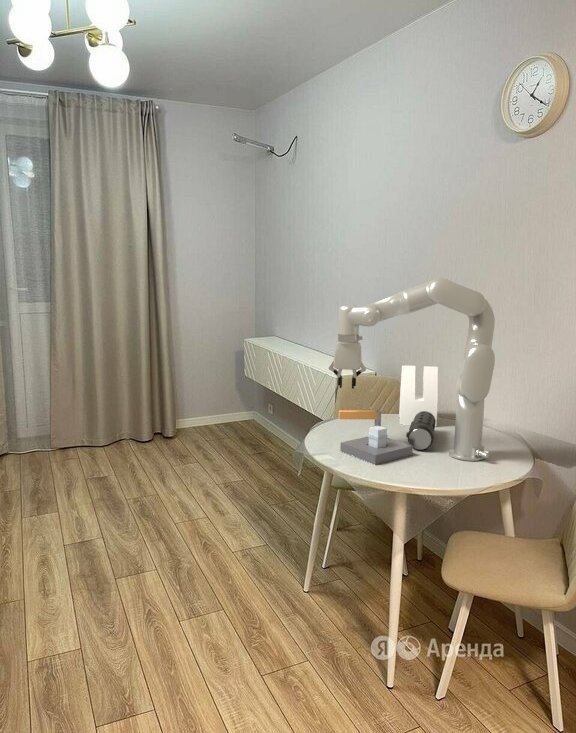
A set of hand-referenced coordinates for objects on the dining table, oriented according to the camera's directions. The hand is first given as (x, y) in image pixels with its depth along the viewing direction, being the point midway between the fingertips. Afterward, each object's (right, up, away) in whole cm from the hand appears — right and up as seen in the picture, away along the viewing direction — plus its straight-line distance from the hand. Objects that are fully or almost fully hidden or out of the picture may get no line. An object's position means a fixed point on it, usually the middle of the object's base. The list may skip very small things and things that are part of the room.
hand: (346, 387), depth 214 cm
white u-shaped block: (+36, -17, +44) cm, 60 cm away
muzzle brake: (+26, -18, +14) cm, 34 cm away
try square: (+5, -19, +6) cm, 20 cm away
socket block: (+10, -24, -3) cm, 27 cm away
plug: (+11, -24, -4) cm, 27 cm away
